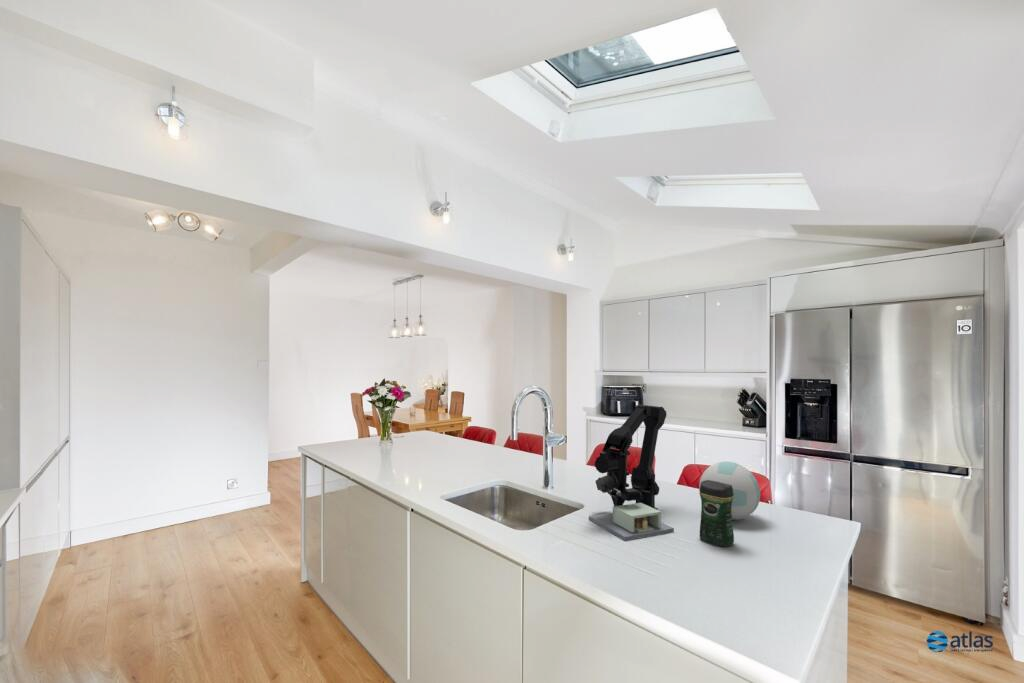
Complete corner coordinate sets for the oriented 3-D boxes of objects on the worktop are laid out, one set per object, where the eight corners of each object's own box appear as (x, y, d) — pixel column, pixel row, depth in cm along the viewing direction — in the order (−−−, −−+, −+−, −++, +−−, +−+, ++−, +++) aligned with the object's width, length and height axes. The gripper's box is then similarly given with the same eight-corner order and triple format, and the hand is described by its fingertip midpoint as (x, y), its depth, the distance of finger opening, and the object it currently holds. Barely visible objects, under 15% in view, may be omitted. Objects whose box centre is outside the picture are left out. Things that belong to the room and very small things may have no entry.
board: (634, 512, 169) (634, 501, 169) (673, 531, 150) (673, 519, 150) (588, 519, 160) (588, 507, 160) (624, 540, 142) (624, 527, 142)
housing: (633, 513, 163) (633, 499, 163) (660, 527, 150) (661, 511, 150) (605, 517, 158) (605, 503, 158) (631, 532, 145) (631, 516, 145)
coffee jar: (737, 543, 142) (737, 483, 143) (725, 549, 137) (726, 487, 137) (707, 533, 149) (707, 476, 150) (695, 539, 144) (695, 480, 145)
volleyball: (754, 532, 151) (754, 472, 152) (692, 519, 163) (692, 462, 164) (764, 516, 167) (764, 461, 167) (706, 505, 179) (707, 454, 180)
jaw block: (638, 522, 154) (638, 510, 154) (646, 526, 151) (646, 514, 151) (629, 524, 153) (629, 512, 153) (636, 528, 149) (637, 516, 149)
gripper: (584, 463, 167) (583, 506, 167) (615, 477, 150) (614, 525, 150) (610, 461, 172) (608, 502, 172) (642, 474, 155) (641, 520, 154)
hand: (617, 512), depth 162 cm, fingers closed
